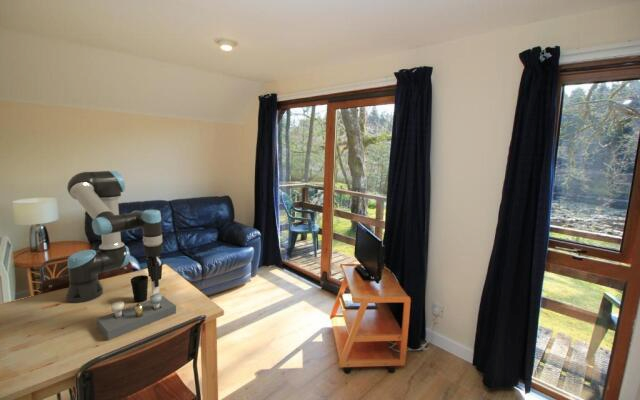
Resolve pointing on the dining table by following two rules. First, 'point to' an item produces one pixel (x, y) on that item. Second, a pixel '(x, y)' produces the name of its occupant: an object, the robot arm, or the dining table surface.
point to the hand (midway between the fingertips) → (155, 292)
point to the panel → (134, 318)
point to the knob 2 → (156, 301)
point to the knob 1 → (117, 309)
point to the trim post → (138, 310)
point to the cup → (140, 288)
